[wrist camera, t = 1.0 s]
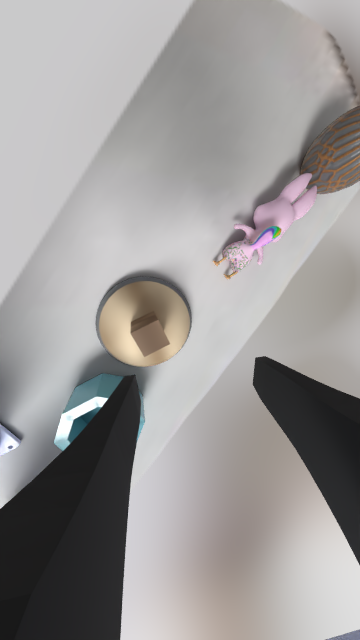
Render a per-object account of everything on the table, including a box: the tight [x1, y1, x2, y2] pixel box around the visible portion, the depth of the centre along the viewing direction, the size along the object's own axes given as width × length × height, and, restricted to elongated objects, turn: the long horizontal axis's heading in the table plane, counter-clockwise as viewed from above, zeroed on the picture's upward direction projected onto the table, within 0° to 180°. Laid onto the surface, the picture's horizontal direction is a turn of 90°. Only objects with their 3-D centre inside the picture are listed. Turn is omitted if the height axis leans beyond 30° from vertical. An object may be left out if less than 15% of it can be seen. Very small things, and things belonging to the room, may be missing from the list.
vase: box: [301, 106, 360, 194], centre depth 18 cm, size 7×7×9 cm
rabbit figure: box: [213, 173, 317, 279], centre depth 20 cm, size 6×6×15 cm
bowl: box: [54, 373, 145, 451], centre depth 21 cm, size 9×9×4 cm
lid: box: [99, 281, 190, 367], centre depth 19 cm, size 11×11×5 cm
